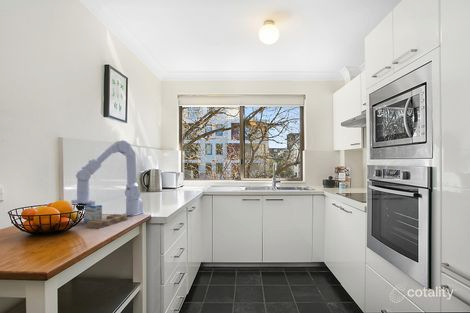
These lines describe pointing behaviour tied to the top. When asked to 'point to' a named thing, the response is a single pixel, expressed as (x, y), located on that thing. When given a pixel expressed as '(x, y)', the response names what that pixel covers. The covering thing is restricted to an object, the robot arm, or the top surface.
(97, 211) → the medicine box
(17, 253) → the top surface
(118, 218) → the walnut channel
